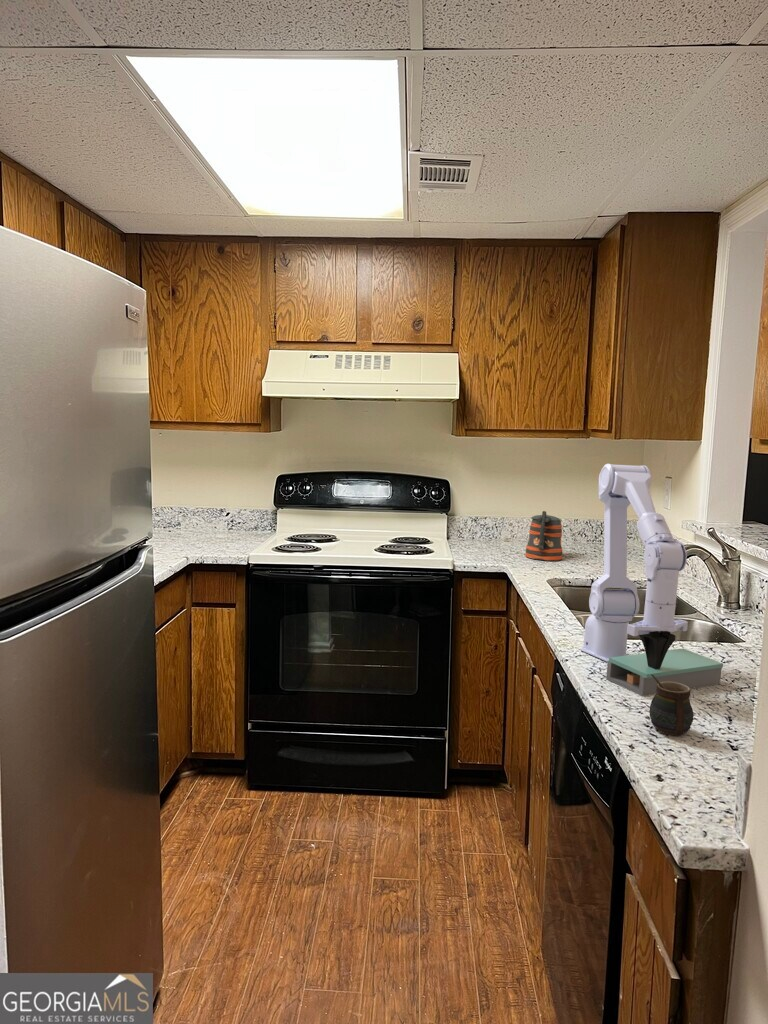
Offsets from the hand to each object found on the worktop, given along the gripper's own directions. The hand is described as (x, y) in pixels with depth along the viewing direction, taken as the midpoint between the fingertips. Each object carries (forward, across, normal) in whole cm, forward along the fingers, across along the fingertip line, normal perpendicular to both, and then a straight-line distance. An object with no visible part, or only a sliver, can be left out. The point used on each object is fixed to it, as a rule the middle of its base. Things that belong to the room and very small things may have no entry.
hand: (653, 667), depth 148 cm
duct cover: (+1, +6, +2) cm, 7 cm away
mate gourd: (+5, -13, -16) cm, 21 cm away
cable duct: (+4, +6, +3) cm, 8 cm away
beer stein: (+4, +72, +126) cm, 145 cm away
